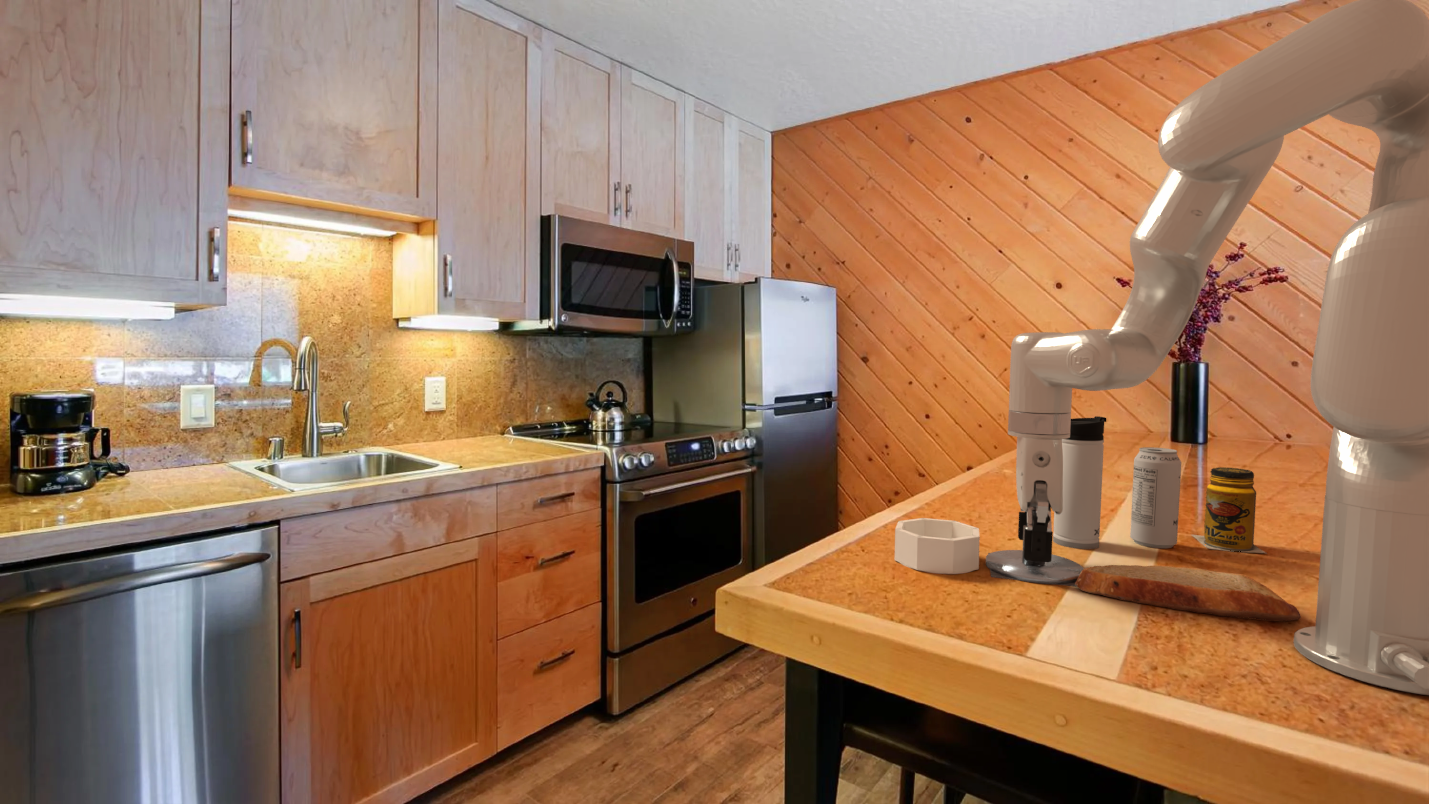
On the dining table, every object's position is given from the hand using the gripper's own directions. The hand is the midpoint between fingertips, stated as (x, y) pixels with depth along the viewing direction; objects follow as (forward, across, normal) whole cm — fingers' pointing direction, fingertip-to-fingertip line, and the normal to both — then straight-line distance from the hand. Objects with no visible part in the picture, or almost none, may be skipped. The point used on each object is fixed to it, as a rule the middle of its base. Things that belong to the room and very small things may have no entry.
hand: (1033, 549), depth 90 cm
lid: (+3, 0, 0) cm, 3 cm away
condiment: (+3, +25, -30) cm, 39 cm away
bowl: (+3, -1, +12) cm, 13 cm away
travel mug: (+3, +16, -8) cm, 18 cm away
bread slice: (+3, -6, -16) cm, 17 cm away
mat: (+3, 0, 0) cm, 3 cm away
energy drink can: (+3, +20, -18) cm, 27 cm away
